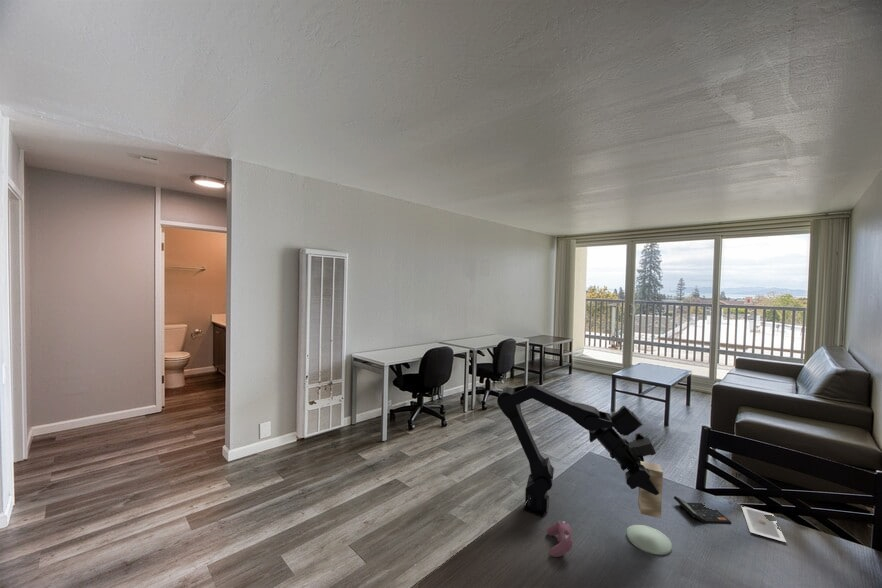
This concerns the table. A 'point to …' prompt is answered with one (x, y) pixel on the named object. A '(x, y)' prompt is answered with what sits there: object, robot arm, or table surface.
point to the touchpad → (762, 524)
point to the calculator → (703, 512)
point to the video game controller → (561, 538)
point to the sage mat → (649, 539)
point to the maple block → (647, 500)
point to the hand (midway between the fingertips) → (655, 489)
